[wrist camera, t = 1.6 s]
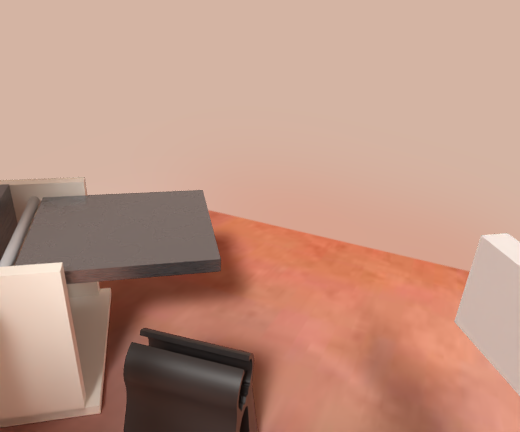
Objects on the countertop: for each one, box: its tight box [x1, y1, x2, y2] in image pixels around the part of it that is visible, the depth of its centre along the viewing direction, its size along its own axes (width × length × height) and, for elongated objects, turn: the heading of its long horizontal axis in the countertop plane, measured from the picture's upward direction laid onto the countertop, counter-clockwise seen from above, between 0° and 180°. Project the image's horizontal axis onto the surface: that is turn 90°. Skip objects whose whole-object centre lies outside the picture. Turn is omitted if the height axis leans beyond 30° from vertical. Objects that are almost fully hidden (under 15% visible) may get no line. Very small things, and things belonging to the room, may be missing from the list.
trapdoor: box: [0, 184, 221, 284], centre depth 34 cm, size 21×11×4 cm, turn 103°
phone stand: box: [124, 328, 258, 432], centre depth 26 cm, size 9×6×12 cm, turn 164°
